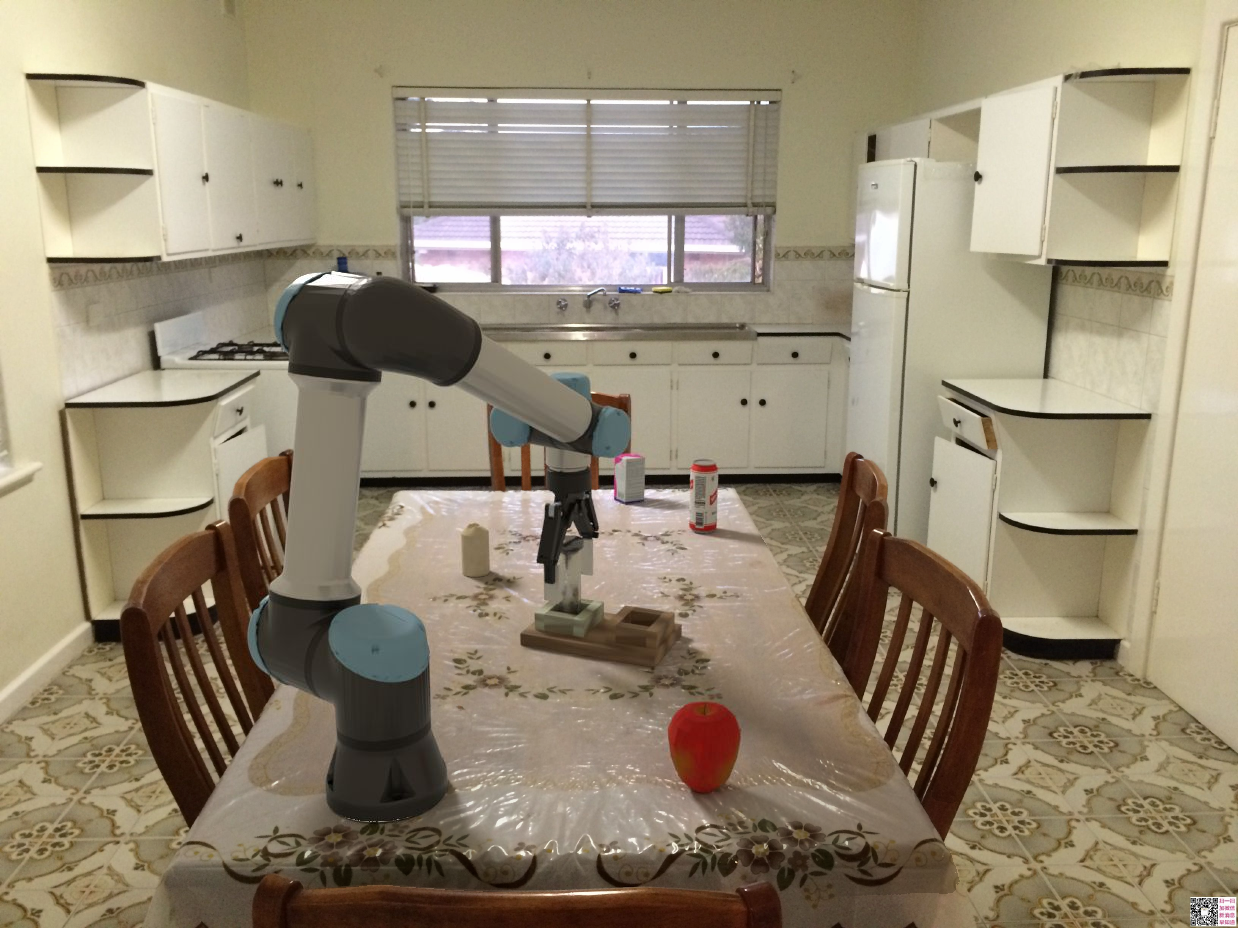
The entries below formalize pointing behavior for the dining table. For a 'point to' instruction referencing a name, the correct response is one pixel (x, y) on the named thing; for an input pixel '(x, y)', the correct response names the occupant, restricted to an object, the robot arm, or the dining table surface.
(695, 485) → the beer can
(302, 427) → the robot arm
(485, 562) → the candle
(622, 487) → the supplement box
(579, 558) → the lock pin
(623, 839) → the dining table surface
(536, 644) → the socket board
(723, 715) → the apple
